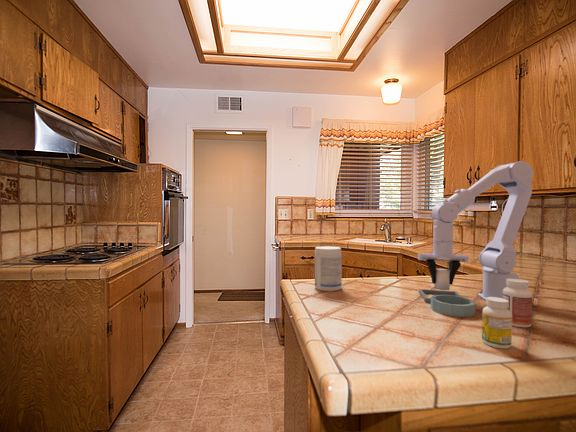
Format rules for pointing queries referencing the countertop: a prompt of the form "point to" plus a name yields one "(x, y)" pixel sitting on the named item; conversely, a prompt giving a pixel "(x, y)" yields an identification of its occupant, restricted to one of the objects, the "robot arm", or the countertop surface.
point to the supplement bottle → (497, 323)
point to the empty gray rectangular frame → (436, 293)
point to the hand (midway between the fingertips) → (441, 283)
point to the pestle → (442, 279)
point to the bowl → (453, 305)
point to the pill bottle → (519, 301)
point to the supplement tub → (328, 268)
